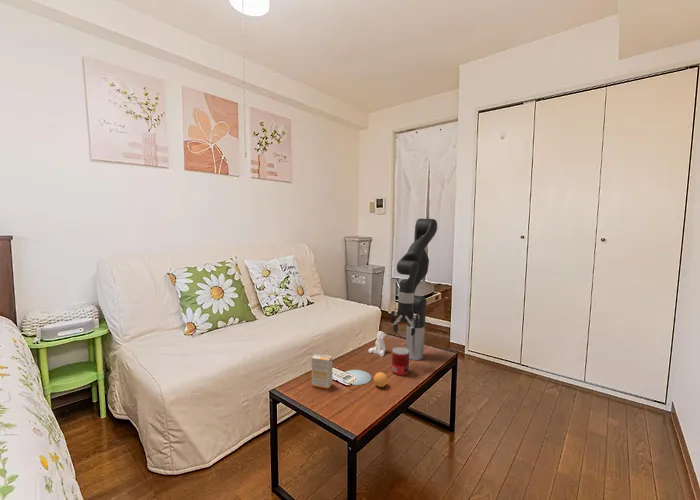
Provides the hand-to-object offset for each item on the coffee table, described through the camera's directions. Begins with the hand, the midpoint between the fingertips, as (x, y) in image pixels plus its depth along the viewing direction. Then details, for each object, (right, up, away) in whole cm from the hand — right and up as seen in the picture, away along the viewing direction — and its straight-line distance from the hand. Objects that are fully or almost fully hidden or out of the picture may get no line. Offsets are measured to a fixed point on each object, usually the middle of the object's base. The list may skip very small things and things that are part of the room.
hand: (404, 333), depth 160 cm
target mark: (-24, -18, -9) cm, 31 cm away
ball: (-13, -16, -17) cm, 26 cm away
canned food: (-3, -18, -3) cm, 18 cm away
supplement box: (-39, -19, -16) cm, 46 cm away
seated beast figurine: (-11, -16, +20) cm, 27 cm away
